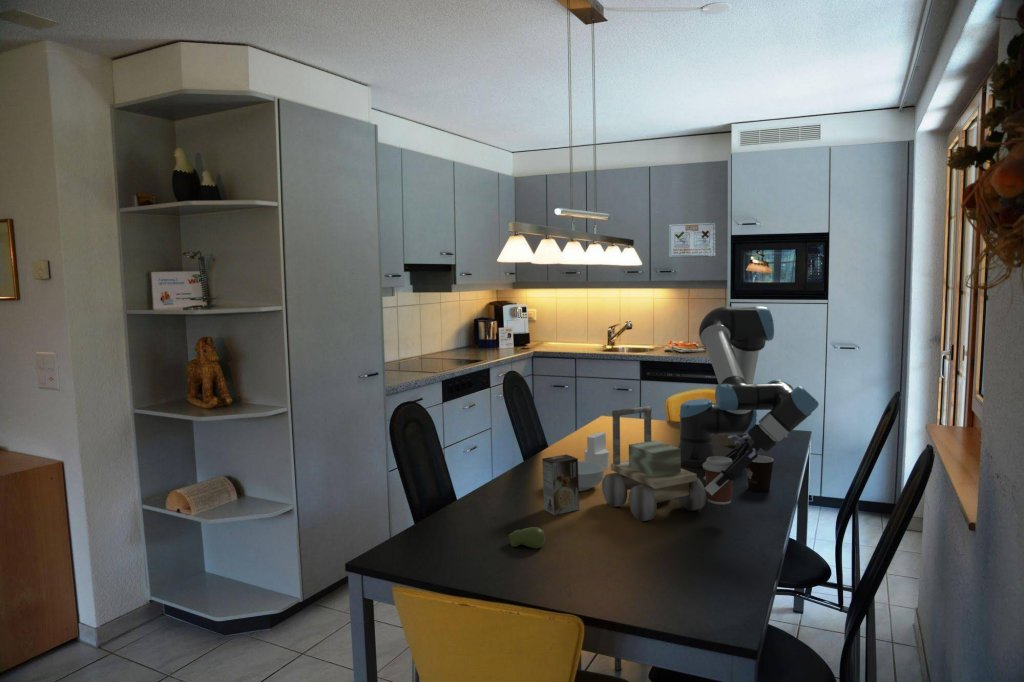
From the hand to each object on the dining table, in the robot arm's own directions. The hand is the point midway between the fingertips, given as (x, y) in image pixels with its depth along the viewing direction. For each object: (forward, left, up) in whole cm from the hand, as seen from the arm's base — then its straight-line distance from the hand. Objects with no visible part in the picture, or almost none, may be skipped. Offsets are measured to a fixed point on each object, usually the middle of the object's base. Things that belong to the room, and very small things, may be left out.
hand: (707, 486), depth 190 cm
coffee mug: (-15, +35, -10) cm, 40 cm away
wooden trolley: (-17, -6, -10) cm, 21 cm away
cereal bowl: (-45, -15, -10) cm, 48 cm away
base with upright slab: (-63, +4, -10) cm, 64 cm away
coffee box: (-29, -31, -10) cm, 44 cm away
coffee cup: (+2, +2, -4) cm, 5 cm away
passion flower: (-58, +73, -10) cm, 93 cm away
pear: (-9, -53, -10) cm, 55 cm away
